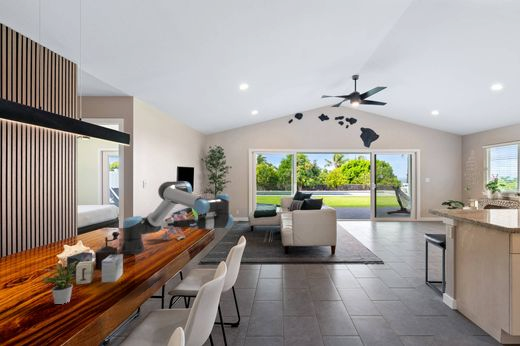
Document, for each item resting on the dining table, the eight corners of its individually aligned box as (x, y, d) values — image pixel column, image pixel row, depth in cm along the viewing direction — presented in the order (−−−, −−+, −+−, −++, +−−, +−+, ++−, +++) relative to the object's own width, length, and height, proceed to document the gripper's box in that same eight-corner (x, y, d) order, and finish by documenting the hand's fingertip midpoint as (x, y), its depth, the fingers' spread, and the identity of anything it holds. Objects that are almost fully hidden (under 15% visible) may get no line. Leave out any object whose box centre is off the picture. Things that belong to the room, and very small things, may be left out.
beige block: (79, 280, 143) (79, 262, 143) (93, 278, 145) (93, 260, 145) (76, 284, 137) (76, 265, 137) (90, 283, 139) (90, 264, 139)
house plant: (59, 293, 126) (59, 256, 126) (90, 293, 126) (90, 256, 126) (32, 308, 112) (33, 266, 112) (67, 309, 112) (67, 267, 112)
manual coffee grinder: (116, 267, 162) (117, 235, 162) (94, 269, 158) (94, 237, 158) (119, 259, 177) (119, 230, 177) (99, 261, 172) (99, 232, 173)
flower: (173, 233, 249) (163, 209, 240) (196, 232, 242) (186, 207, 233) (161, 248, 232) (149, 222, 222) (185, 247, 225) (174, 221, 215)
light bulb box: (109, 275, 150) (109, 254, 150) (123, 274, 151) (123, 254, 151) (101, 282, 139) (101, 260, 139) (115, 282, 140) (115, 260, 140)
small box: (76, 278, 145) (76, 257, 145) (65, 277, 146) (66, 257, 146) (92, 271, 155) (92, 252, 155) (82, 270, 156) (82, 251, 156)
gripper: (207, 231, 154) (160, 234, 146) (203, 227, 166) (160, 229, 159) (207, 217, 154) (160, 219, 146) (203, 214, 166) (160, 216, 159)
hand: (160, 224), depth 153 cm, fingers closed
